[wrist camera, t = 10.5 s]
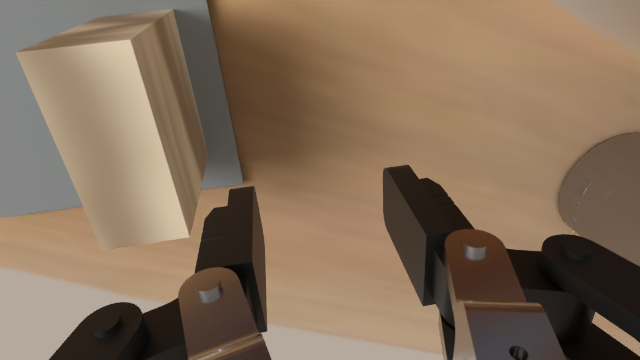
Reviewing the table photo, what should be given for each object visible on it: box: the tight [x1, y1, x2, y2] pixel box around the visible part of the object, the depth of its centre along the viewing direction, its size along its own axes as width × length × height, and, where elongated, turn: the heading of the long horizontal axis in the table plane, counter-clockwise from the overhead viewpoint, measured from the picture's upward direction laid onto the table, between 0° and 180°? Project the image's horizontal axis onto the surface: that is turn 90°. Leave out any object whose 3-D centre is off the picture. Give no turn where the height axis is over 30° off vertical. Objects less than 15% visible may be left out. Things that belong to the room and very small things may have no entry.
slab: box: [16, 9, 208, 250], centre depth 21 cm, size 4×9×9 cm, turn 5°
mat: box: [0, 0, 244, 218], centre depth 25 cm, size 16×14×1 cm
